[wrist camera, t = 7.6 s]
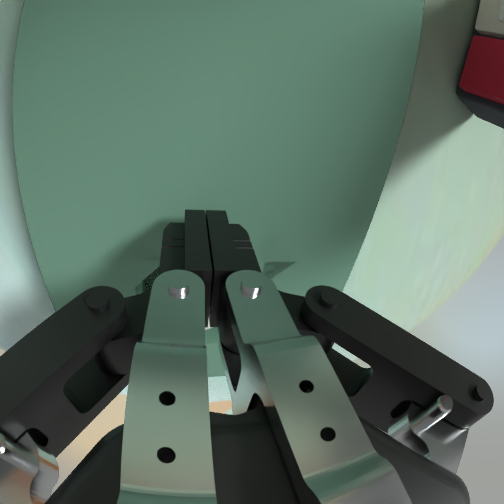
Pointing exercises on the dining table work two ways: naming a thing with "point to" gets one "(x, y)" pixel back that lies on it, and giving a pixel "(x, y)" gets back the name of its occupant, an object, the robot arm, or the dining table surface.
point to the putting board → (206, 131)
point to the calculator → (486, 65)
